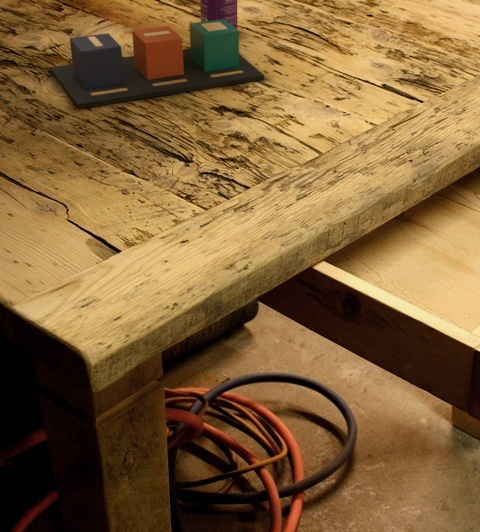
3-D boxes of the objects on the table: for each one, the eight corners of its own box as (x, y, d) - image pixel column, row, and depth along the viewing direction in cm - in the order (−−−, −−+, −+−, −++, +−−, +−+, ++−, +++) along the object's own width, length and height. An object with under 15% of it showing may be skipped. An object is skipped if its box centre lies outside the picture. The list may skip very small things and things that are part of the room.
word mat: (78, 109, 99) (77, 102, 99) (50, 71, 107) (49, 66, 107) (264, 79, 109) (264, 74, 109) (226, 47, 117) (226, 42, 116)
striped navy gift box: (85, 89, 102) (81, 50, 100) (73, 75, 105) (69, 36, 103) (124, 84, 104) (121, 45, 102) (111, 69, 107) (108, 32, 105)
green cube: (204, 71, 108) (203, 34, 106) (190, 58, 111) (189, 22, 109) (239, 66, 110) (239, 30, 108) (224, 53, 113) (223, 18, 111)
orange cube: (147, 80, 105) (145, 42, 103) (134, 66, 108) (131, 29, 106) (184, 74, 107) (182, 37, 105) (170, 61, 110) (168, 24, 108)
